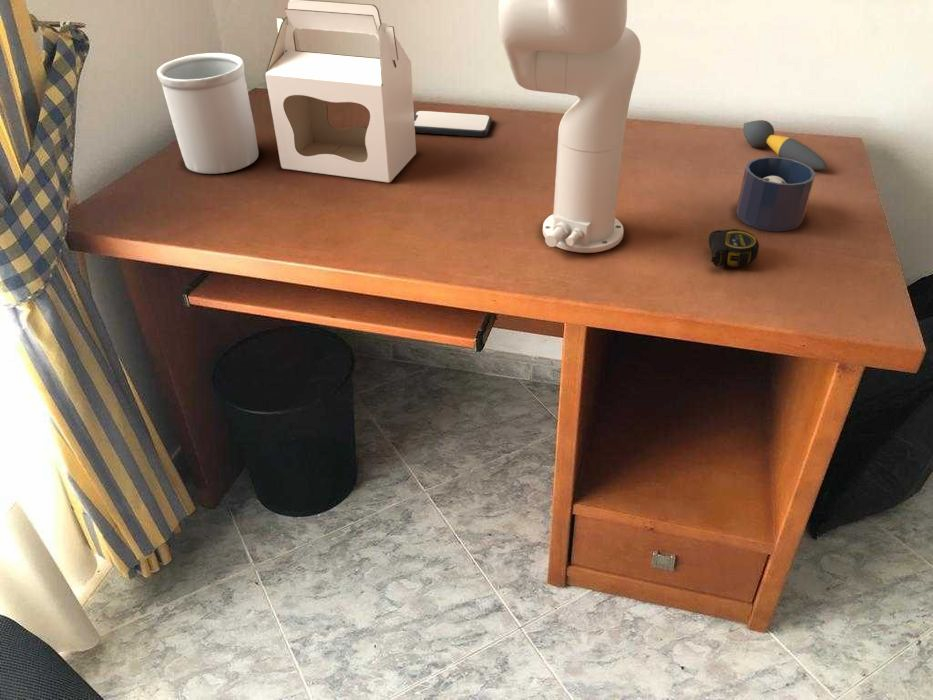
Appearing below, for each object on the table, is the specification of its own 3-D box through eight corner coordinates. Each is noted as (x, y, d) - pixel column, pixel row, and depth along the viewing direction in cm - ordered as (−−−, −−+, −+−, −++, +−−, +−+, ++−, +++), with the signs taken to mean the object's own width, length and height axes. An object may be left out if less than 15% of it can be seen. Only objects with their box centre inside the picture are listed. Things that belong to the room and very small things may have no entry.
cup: (794, 237, 121) (807, 190, 116) (728, 222, 125) (738, 175, 120) (808, 210, 128) (821, 164, 123) (745, 196, 132) (755, 152, 127)
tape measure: (705, 247, 119) (710, 225, 117) (752, 250, 118) (757, 228, 116) (709, 270, 114) (713, 248, 112) (757, 274, 113) (763, 251, 111)
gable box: (279, 168, 144) (251, 7, 127) (312, 141, 154) (290, -12, 136) (391, 183, 138) (378, 17, 121) (417, 154, 148) (409, -4, 131)
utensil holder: (165, 172, 143) (139, 76, 132) (205, 140, 155) (184, 49, 144) (238, 179, 140) (218, 82, 130) (273, 146, 152) (257, 54, 141)
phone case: (492, 122, 161) (416, 117, 163) (492, 114, 160) (416, 109, 162) (486, 139, 154) (407, 133, 156) (486, 131, 153) (406, 125, 155)
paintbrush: (836, 169, 140) (844, 142, 137) (820, 176, 138) (827, 150, 135) (744, 135, 153) (749, 110, 150) (728, 142, 150) (733, 117, 147)
